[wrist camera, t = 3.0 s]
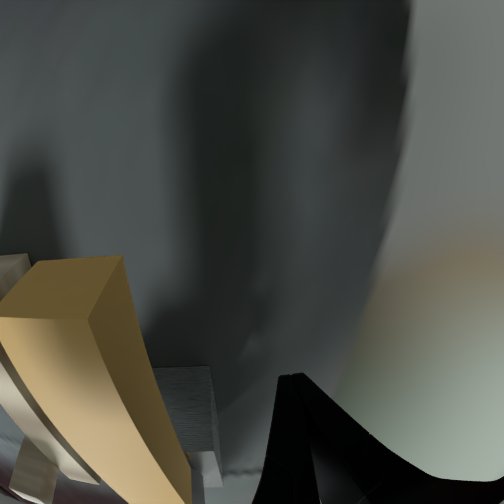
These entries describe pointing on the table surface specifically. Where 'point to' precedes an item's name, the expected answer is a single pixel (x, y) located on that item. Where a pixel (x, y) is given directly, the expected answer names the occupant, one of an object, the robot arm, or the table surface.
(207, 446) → the jamb post
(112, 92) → the table surface
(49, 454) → the grey-beige crossed blocks
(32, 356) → the bar
